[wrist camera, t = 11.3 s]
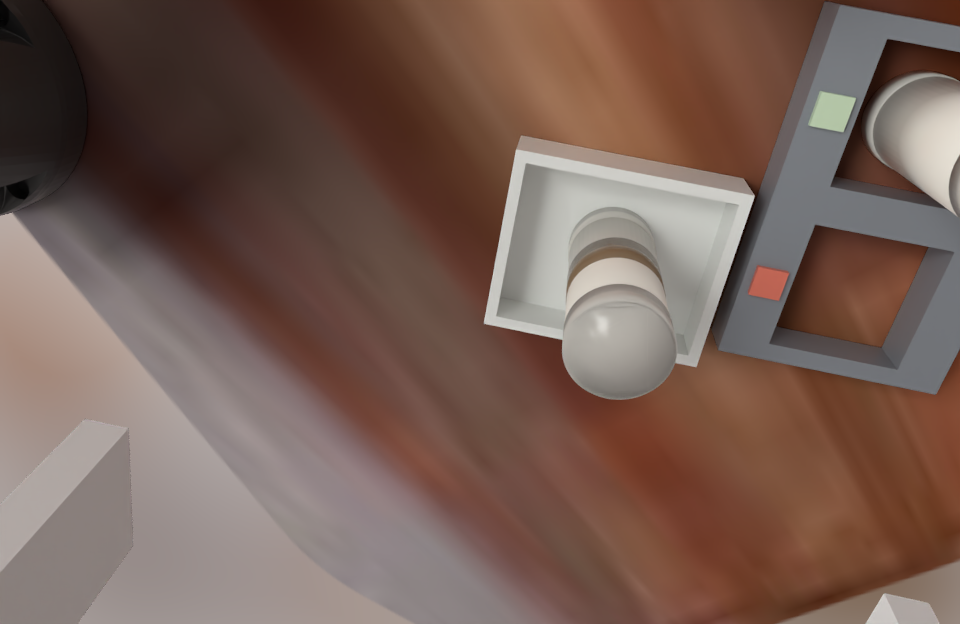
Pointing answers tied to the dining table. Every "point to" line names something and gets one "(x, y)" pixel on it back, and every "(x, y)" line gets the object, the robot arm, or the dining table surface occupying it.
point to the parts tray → (626, 184)
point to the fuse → (918, 132)
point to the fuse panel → (844, 218)
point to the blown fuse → (616, 307)
